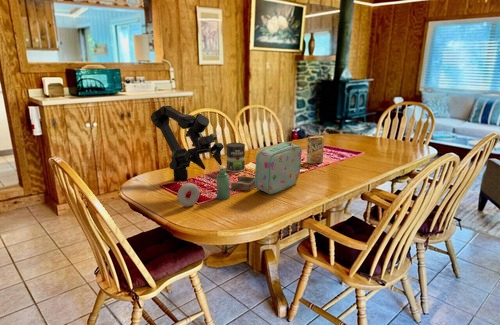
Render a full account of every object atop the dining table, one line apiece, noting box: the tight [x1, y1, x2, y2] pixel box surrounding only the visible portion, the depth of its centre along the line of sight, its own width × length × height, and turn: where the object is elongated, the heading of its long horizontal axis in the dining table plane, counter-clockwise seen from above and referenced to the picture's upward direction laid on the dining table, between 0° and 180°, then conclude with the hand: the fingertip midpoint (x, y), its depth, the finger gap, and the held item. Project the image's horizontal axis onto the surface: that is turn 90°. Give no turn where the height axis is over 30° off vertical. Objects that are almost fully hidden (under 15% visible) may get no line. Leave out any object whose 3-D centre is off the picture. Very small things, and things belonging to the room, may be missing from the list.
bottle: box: [216, 165, 231, 201], centre depth 153 cm, size 6×6×14 cm
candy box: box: [306, 135, 325, 164], centre depth 206 cm, size 9×4×15 cm, turn 107°
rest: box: [230, 175, 255, 192], centre depth 168 cm, size 10×11×3 cm
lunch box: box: [254, 141, 302, 195], centre depth 164 cm, size 27×10×21 cm, turn 141°
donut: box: [176, 182, 200, 208], centre depth 144 cm, size 10×4×10 cm, turn 131°
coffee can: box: [225, 142, 246, 173], centre depth 193 cm, size 10×10×14 cm
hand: (213, 166), depth 156 cm, fingers open, 9 cm apart
